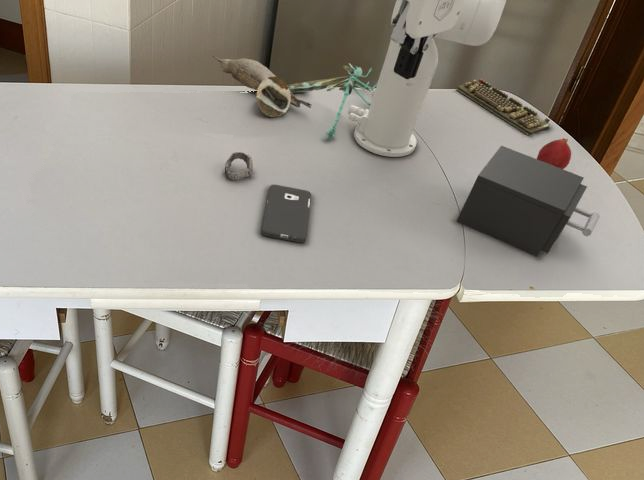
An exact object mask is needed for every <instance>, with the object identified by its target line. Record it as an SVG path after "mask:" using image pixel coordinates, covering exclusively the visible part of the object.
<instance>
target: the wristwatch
mask: <svg viewBox="0 0 644 480" xmlns="http://www.w3.org/2000/svg"><path fill="white" fill-rule="evenodd" d="M238 159H239V160H243V162H244V163H245V164H246V169H242V170H240V171H238V172H236V173H235V172H230V168H231V167H232V163H233V162H234V160H238ZM253 171H254V163H253V157H252V156H251V155H249V154H247V153H245V152H241V151H235V152H233V153H231V155H230V156H229V158H228V159H227V160H226V162H225V164H224V174H225V176H226V178H228V179H229V180H232V181H237V180H239V179H242V178H247V177H250V176H251V175H252V174H253Z"/></svg>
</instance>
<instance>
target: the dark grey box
mask: <svg viewBox="0 0 644 480" xmlns="http://www.w3.org/2000/svg"><path fill="white" fill-rule="evenodd" d="M584 179H585V177H583V176H581V175H578V174H576V173H574V172H571V171H569V170H566V169H561V168H558V167H555V166H553V165H550V164H548V163H545V162H543V161H540V160H537V158H535V157H533V156H530V155H528V154H524V153H522V152H519V151H517V150H515V149H514V150H513V149H512V148H509V147H507V146H504V145H500V146H499V147H498V149H496V152H495V153H494V154H493V156H491V158H490V159H489V161H488V162H487V163H486V165H484V167H483V168H482V170H481V171H480V172H479V174H478V175H477V177H476V179H475V181H474V183H473V185H472V188H471V189H470V191H469V194H468V196H467V198H466V200H465V202H464V204H463V206H462V207H461V210H460V213H459V215H458V217H457V218H456V223H458V224H461V225H463V226H465V227H468V228H470V229H472V230H475V231H476V232H479V233H481V234H483V235H486V236H488V237H490V238H492V239H495V240H497V241H499V242H501V243H504V244H505V245H509V246H511V247H513V248H515V249H518V250H520V251H522V252H525V253H527V254H530V255H532V256H534V257H536V258H537V257H539V255H540V253H541V252H542V251H541V250H542V248H543V247H544V245H545V243H546V242H547V240H548V238H549V237H550V235H551V233H552V232H553V230H554V229H555V227H556V225H557V224H558V222H559V220H560V219H561V217H562V216H563V214H564V212H565V211H566V209H567V207H568V205H569V203H570V202H571V200H572V198H573V196H574V195H575V193H576V191H577V189H578V187H579V186H580V184H582V182H583V180H584Z"/></svg>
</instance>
